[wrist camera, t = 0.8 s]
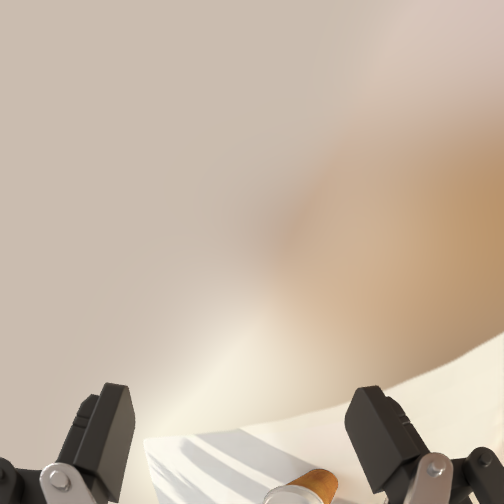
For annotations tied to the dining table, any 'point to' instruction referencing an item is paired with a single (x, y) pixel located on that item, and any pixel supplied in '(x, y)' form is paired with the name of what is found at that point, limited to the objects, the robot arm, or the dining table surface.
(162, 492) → the dining table surface
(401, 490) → the robot arm
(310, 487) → the disposable coffee cup
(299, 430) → the dining table surface
